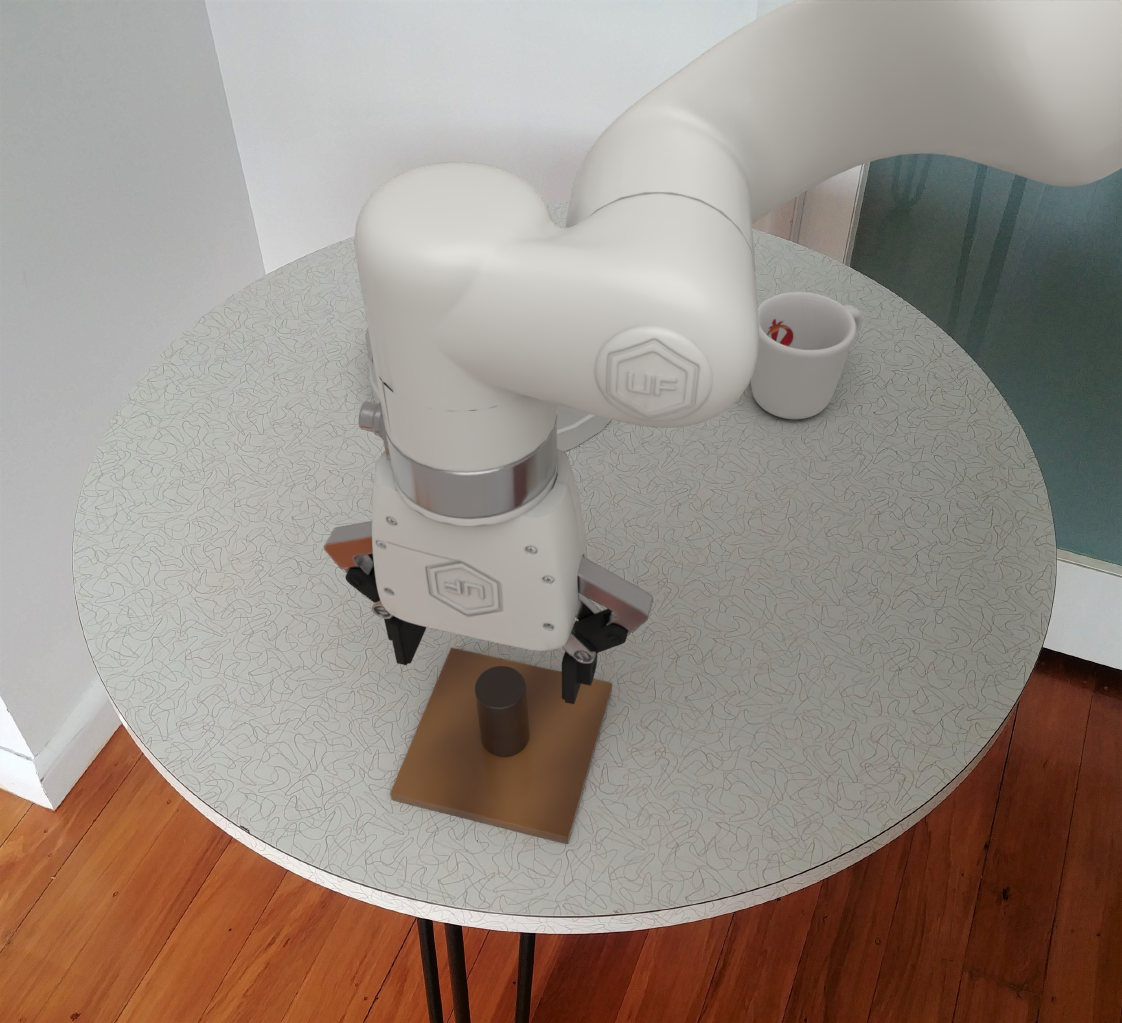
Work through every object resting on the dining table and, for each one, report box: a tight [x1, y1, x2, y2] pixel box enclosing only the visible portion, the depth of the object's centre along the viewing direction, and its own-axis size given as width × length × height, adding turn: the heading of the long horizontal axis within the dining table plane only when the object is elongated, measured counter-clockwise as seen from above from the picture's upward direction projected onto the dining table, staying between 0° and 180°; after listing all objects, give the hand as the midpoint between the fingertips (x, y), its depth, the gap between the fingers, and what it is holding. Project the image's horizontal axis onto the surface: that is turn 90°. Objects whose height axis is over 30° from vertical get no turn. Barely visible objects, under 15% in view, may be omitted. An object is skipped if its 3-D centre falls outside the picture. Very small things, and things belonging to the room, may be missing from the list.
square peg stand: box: [389, 647, 613, 845], centre depth 64 cm, size 11×11×6 cm
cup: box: [750, 291, 864, 420], centre depth 85 cm, size 11×8×8 cm
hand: (492, 663), depth 60 cm, fingers open, 9 cm apart
